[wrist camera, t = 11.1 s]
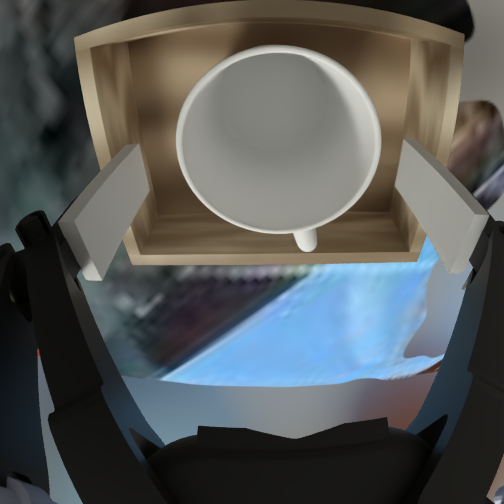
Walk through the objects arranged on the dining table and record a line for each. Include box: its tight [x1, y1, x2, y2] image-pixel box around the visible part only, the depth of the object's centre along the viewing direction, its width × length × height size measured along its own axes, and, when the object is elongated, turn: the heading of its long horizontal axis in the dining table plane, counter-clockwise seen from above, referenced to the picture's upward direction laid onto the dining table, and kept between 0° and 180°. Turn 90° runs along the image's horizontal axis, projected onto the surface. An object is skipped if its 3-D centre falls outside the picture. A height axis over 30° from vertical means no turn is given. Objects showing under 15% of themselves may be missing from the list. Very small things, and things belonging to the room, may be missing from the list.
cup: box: [176, 45, 381, 252], centre depth 16 cm, size 8×12×10 cm
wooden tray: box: [74, 0, 464, 265], centre depth 18 cm, size 17×22×6 cm
